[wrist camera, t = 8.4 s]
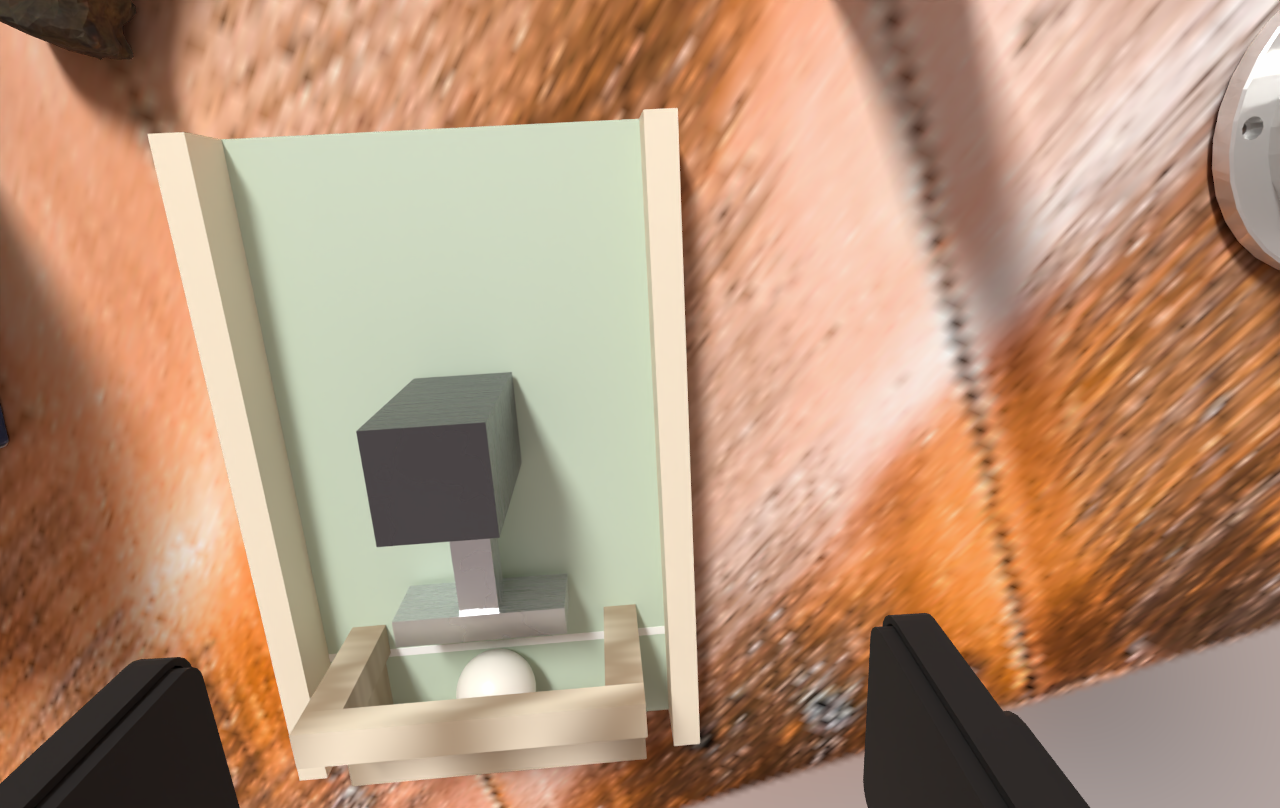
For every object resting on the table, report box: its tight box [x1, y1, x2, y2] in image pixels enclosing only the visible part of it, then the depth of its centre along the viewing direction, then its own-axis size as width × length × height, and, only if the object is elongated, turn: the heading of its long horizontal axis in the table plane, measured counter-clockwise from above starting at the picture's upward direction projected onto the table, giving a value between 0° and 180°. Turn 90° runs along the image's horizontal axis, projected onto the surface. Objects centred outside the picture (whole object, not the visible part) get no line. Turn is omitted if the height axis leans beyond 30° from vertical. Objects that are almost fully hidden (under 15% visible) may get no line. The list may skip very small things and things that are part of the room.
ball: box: [456, 648, 536, 699], centre depth 30 cm, size 4×4×4 cm
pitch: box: [147, 108, 700, 780], centre depth 29 cm, size 18×27×3 cm, turn 3°
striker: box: [356, 372, 569, 648], centre depth 26 cm, size 7×11×7 cm, turn 3°
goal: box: [289, 604, 648, 786], centre depth 29 cm, size 13×6×7 cm, turn 93°
